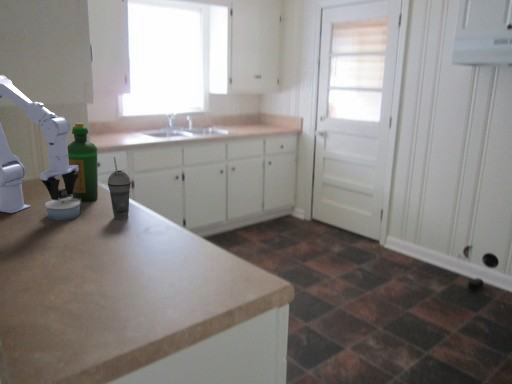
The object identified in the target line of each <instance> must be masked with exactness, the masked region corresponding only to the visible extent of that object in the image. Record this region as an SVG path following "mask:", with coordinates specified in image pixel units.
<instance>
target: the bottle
mask: <svg viewBox="0 0 512 384" xmlns="http://www.w3.org/2000/svg"><path fill="white" fill-rule="evenodd" d="M71 134H72V135H73V138H74V140H73V141H71V142H70V143H69V144H67V148H68V159H69V166H70V165H78V170H79V171H75V172H76V173H78V174H79V176H78V177H77V180H76V182H75V185H74V190H73V194H72V198H81V200H82V203H87V202H93V201H95V200H97V198H98V195H99V193H98V192H99V190H98V189H99V188H98V185H99V184H98V181H99V179H98V177H99V176H98V148H97V146H96V145H95V143H92V142H91V141H90V140H88V134H89V130H88V126H85V123H84V122H75V123H74V126H73V127H72V130H71Z"/></svg>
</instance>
